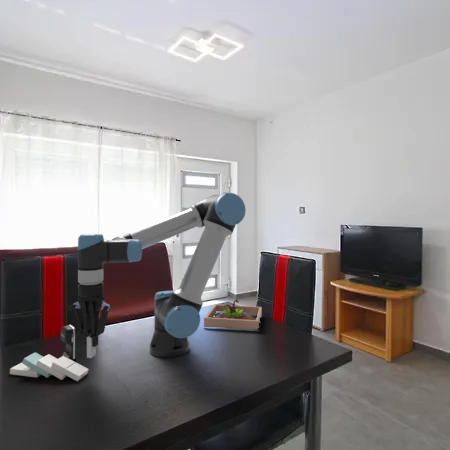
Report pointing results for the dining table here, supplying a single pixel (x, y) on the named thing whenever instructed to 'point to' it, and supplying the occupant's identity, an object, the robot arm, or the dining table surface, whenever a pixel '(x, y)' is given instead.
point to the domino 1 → (31, 363)
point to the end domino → (23, 371)
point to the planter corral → (233, 322)
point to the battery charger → (69, 341)
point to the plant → (234, 313)
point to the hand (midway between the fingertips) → (91, 356)
